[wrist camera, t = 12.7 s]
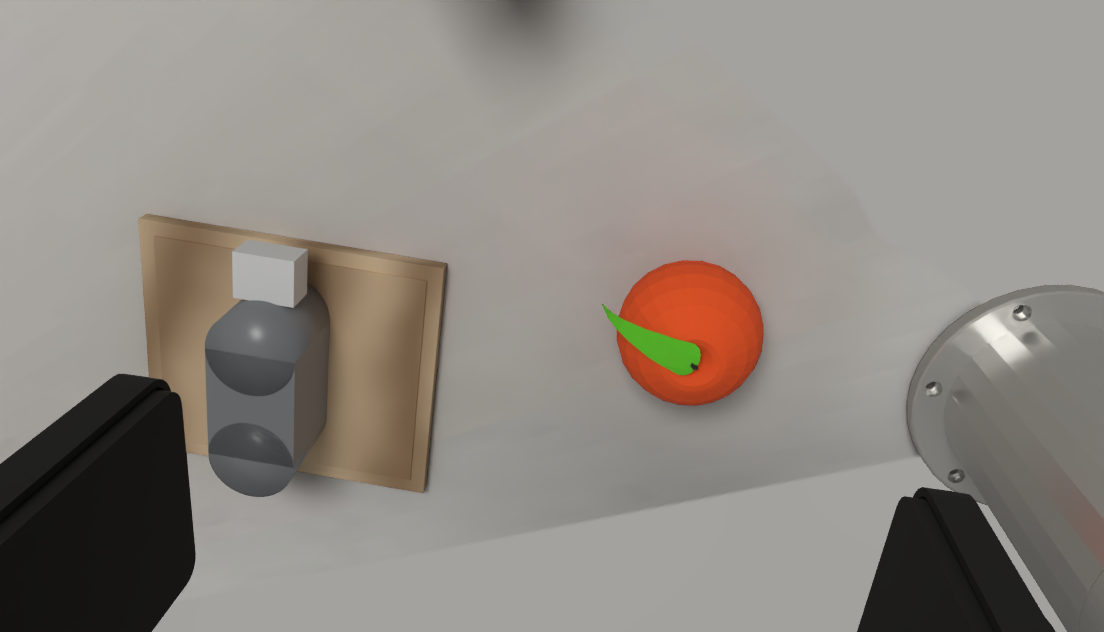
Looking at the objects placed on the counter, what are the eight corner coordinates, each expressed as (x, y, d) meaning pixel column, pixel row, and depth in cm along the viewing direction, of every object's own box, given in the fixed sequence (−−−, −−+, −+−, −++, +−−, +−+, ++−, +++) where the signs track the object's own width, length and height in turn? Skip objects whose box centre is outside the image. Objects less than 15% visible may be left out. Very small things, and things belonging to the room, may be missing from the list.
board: (447, 263, 44) (443, 269, 43) (426, 485, 49) (422, 493, 49) (146, 213, 44) (137, 219, 43) (160, 439, 50) (152, 447, 49)
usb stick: (325, 450, 48) (292, 503, 43) (250, 437, 48) (209, 488, 44) (332, 241, 43) (296, 276, 38) (247, 227, 43) (201, 260, 38)
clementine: (578, 327, 44) (568, 392, 38) (632, 210, 42) (631, 259, 35) (716, 383, 45) (729, 457, 39) (778, 272, 42) (804, 331, 36)
